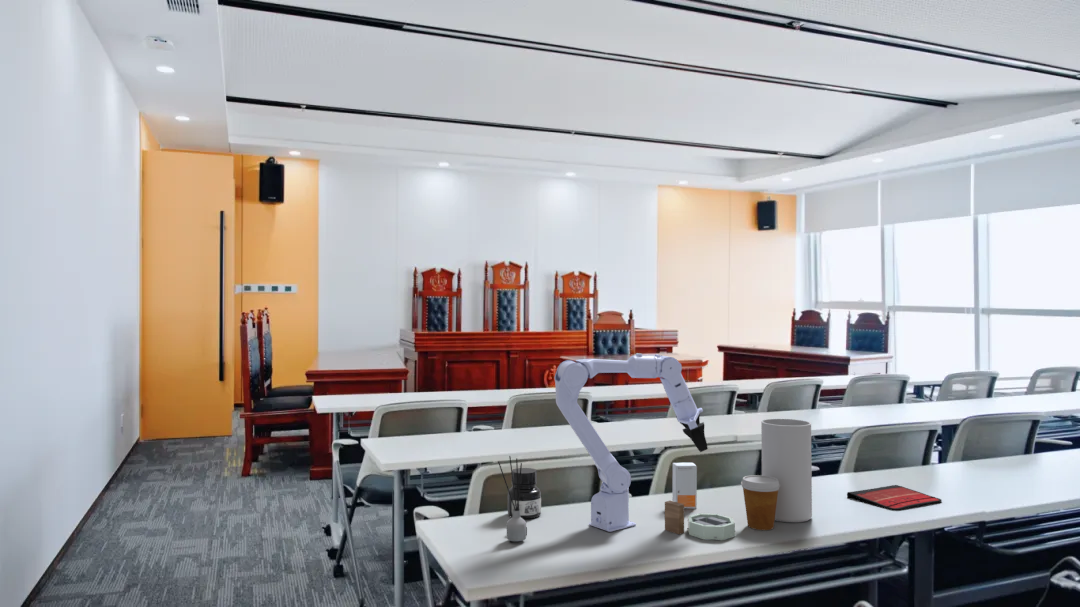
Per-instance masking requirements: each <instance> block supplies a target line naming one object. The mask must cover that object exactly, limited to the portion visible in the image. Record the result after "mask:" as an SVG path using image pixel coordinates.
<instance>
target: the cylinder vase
mask: <svg viewBox="0 0 1080 607" xmlns="http://www.w3.org/2000/svg"><path fill="white" fill-rule="evenodd" d="M812 464H813V463H812V422H810V421H807V420H803V419H793V418H766V419H762V420H761V475H762V476H769V477H774V478H776V479H778V482H779V484H780V487H779V490H778V496H777V504H776V512H775V521H776V522H780V523H781V522H782V523H783V522H784V523H802V522H803V523H805V522H807V521H809V520H811V519H812V517H813V505H812V504H813V498H812V497H813V495H812V494H813V492H812V488H813V486H812V485H813V484H812V480H813V479H812V478H813V477H812V475H813V474H812V473H813V472H812Z"/></svg>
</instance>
